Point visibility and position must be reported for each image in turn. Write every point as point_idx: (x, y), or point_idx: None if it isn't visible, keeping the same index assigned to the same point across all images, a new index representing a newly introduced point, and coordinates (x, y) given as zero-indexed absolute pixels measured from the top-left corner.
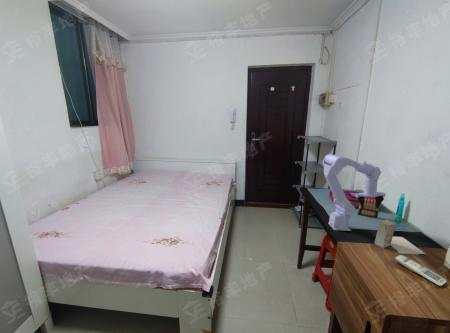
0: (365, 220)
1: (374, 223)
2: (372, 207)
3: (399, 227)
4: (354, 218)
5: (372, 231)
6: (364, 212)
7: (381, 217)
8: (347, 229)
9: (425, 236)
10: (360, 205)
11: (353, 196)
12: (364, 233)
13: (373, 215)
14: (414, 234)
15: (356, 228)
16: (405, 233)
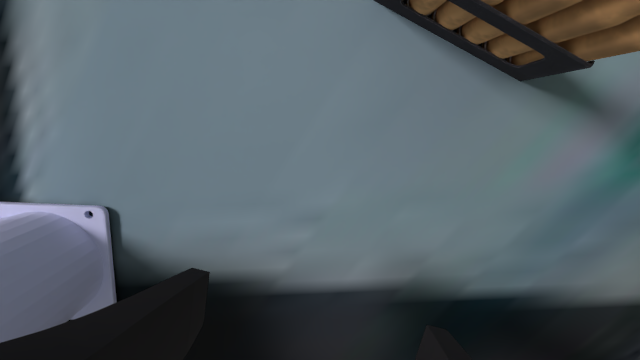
0: (366, 128)
1: (411, 184)
2: (569, 7)
3: (573, 243)
4: (279, 87)
5: (294, 310)
6: (443, 3)
7: None
8: (84, 313)
9: (636, 354)
10: (158, 288)
11: None
12: (210, 339)
13: (509, 56)
14: (585, 334)
15: None
16: (531, 325)
